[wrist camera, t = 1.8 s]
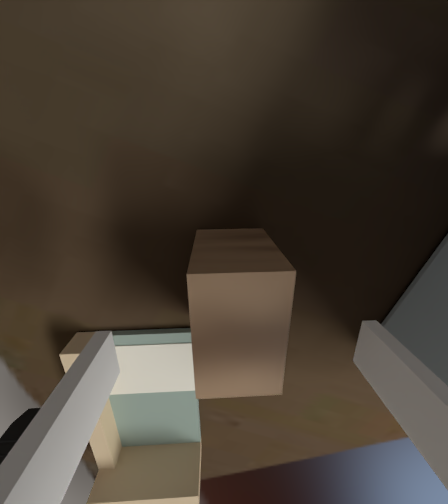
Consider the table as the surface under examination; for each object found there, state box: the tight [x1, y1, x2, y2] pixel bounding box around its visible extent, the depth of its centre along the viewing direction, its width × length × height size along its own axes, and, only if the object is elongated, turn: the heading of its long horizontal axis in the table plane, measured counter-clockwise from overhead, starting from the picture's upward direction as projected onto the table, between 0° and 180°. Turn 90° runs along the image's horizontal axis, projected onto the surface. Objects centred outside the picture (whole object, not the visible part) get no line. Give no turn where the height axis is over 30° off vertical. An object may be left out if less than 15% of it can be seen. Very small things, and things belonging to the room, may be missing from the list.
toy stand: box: [59, 328, 201, 504], centre depth 21 cm, size 17×10×5 cm, turn 0°
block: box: [187, 228, 296, 399], centre depth 15 cm, size 8×5×8 cm, turn 0°
